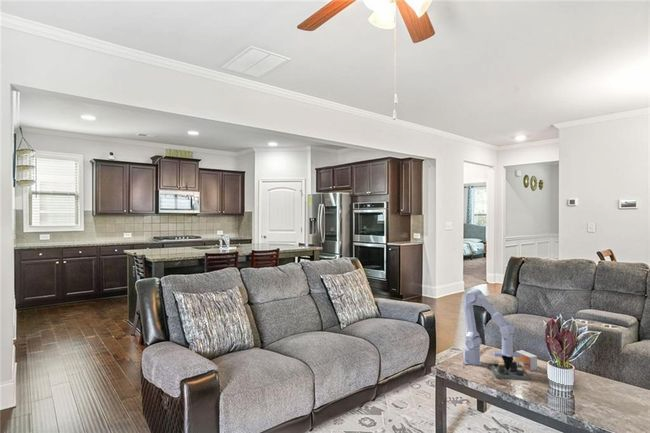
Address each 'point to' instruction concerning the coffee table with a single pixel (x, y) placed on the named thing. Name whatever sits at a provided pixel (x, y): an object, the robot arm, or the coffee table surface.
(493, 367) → the breaker panel
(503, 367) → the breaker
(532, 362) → the small box
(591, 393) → the coffee table surface
